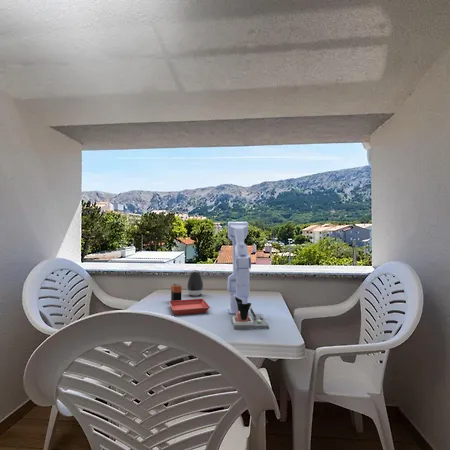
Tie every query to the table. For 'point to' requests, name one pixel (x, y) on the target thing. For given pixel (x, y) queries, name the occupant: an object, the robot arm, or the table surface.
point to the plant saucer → (189, 306)
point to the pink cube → (238, 317)
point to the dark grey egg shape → (195, 283)
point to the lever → (252, 312)
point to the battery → (175, 292)
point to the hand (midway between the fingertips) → (242, 316)
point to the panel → (250, 322)
